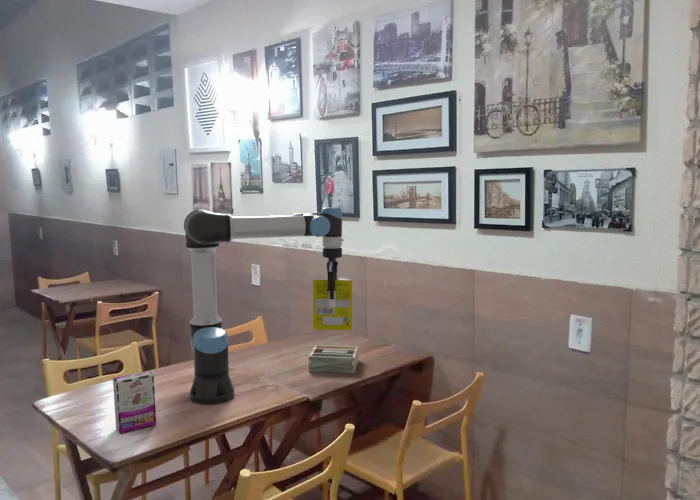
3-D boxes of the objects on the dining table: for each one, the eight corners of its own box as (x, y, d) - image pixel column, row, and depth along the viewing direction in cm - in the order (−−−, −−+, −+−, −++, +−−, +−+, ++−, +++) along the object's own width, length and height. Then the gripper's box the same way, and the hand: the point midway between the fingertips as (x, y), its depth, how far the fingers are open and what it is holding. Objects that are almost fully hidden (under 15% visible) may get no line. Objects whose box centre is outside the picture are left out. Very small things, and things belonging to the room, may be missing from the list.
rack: (354, 373, 231) (354, 358, 230) (308, 371, 233) (308, 356, 232) (358, 360, 247) (358, 346, 246) (315, 358, 249) (315, 345, 248)
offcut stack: (348, 368, 237) (348, 353, 236) (318, 366, 238) (318, 352, 238) (349, 364, 242) (349, 349, 241) (320, 363, 243) (320, 348, 242)
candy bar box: (151, 420, 186) (149, 370, 184) (156, 425, 182) (154, 374, 180) (114, 428, 180) (112, 377, 178) (119, 434, 176) (116, 381, 173)
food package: (351, 330, 232) (352, 280, 230) (351, 330, 231) (351, 280, 229) (313, 329, 234) (313, 279, 232) (313, 329, 233) (312, 279, 230)
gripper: (339, 249, 221) (339, 310, 224) (343, 245, 235) (343, 303, 238) (320, 249, 222) (320, 310, 225) (325, 244, 236) (325, 302, 239)
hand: (332, 306), depth 231 cm, fingers closed on food package
